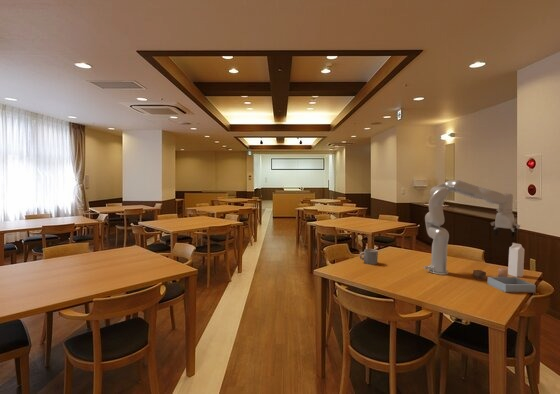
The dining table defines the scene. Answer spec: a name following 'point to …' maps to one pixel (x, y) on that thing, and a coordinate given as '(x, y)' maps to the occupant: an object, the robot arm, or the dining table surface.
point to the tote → (511, 284)
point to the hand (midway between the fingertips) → (504, 236)
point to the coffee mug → (370, 256)
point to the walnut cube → (479, 274)
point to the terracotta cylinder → (502, 272)
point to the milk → (516, 260)
